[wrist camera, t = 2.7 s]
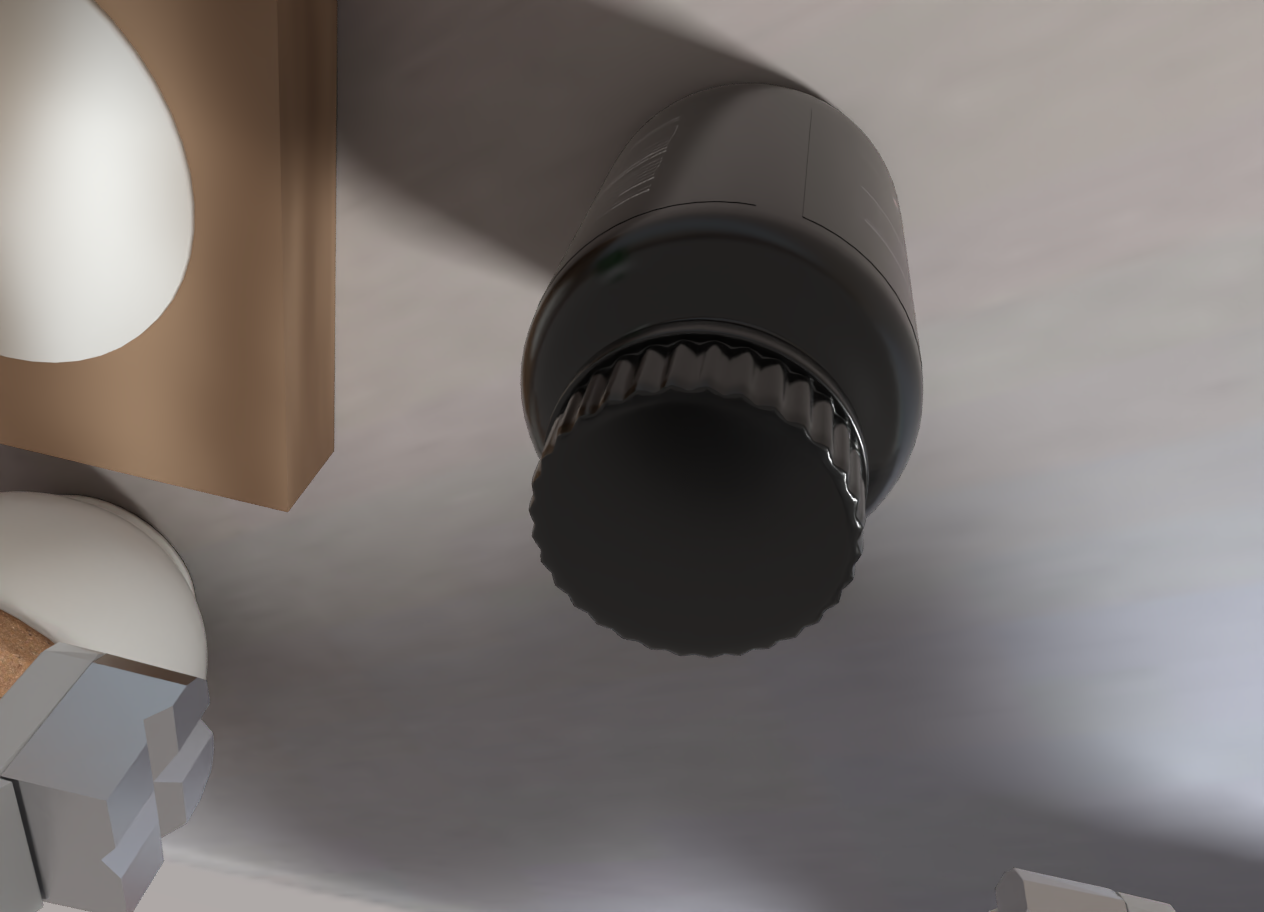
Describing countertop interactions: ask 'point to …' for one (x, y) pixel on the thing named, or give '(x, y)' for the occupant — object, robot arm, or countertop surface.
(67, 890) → the robot arm
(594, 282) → the supplement bottle
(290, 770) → the countertop surface
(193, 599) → the lidded jar
